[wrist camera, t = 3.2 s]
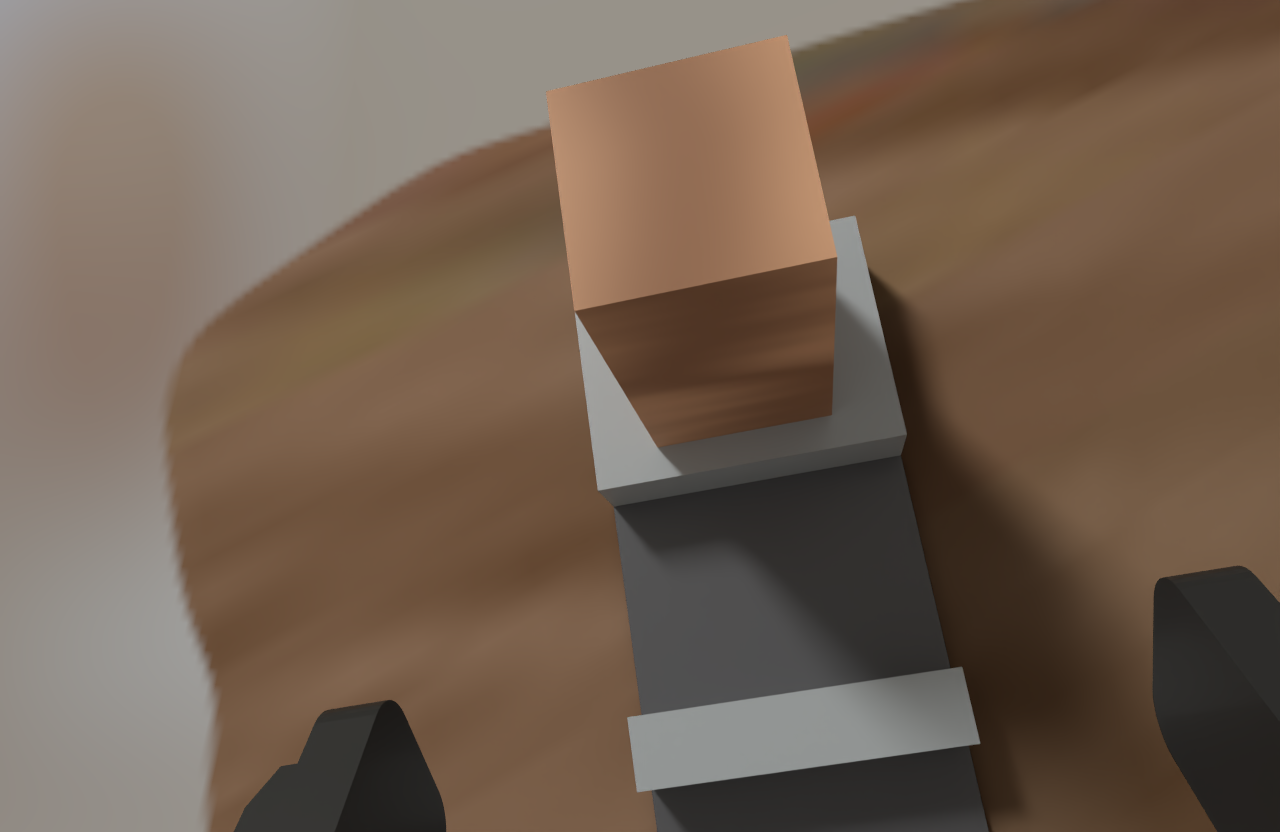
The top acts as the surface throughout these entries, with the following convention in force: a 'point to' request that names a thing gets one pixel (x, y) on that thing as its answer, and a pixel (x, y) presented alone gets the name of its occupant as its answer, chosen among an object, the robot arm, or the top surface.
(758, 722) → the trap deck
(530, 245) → the top surface
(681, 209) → the block
